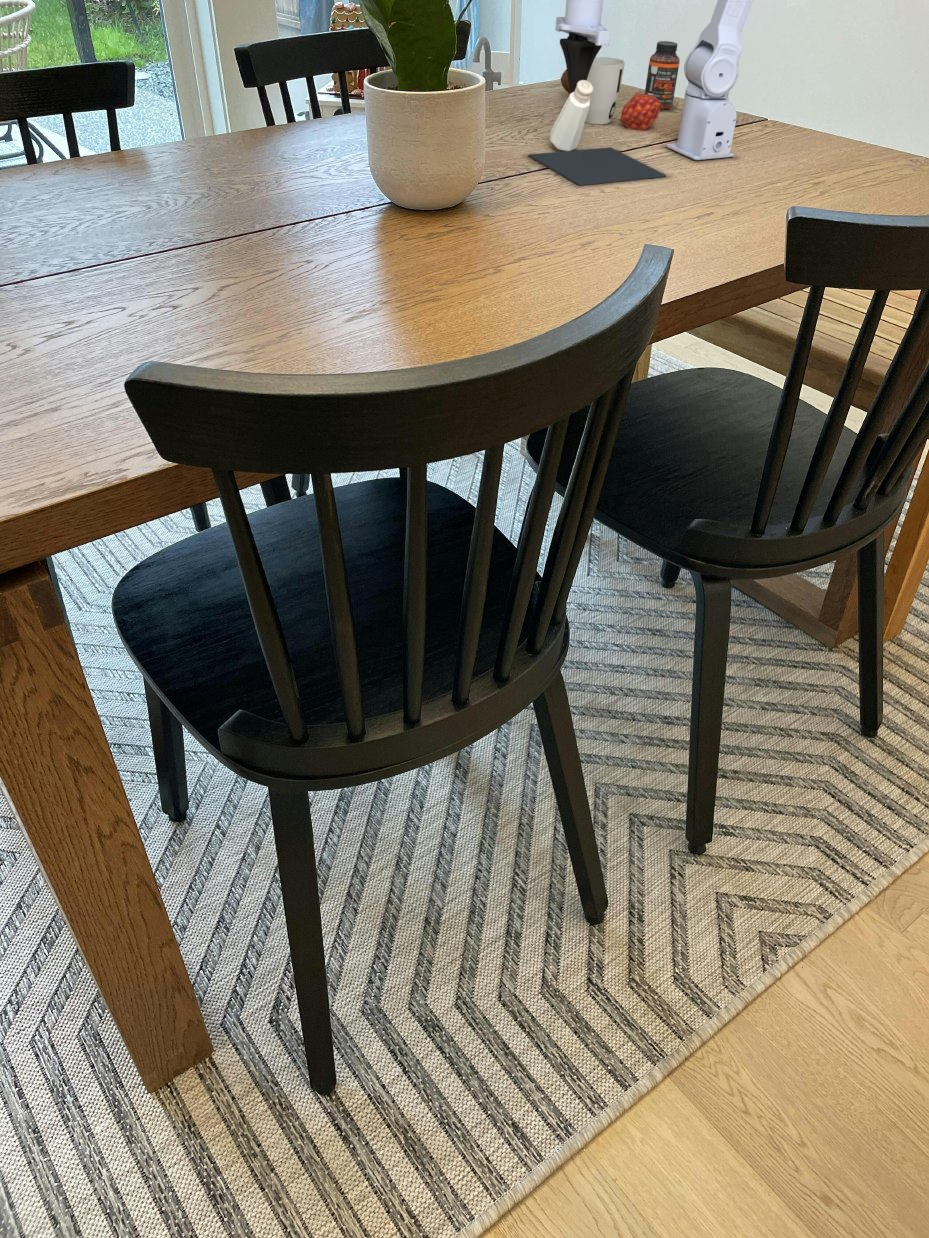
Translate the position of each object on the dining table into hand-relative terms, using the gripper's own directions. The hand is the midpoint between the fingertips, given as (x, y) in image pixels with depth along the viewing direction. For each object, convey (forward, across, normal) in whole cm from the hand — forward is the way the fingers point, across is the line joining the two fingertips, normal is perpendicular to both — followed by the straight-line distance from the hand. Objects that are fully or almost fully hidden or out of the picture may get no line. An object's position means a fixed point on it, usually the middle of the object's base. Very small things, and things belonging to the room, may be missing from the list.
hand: (576, 89), depth 152 cm
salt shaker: (+8, -3, 0) cm, 9 cm away
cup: (+10, -19, +16) cm, 27 cm away
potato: (+10, -38, +24) cm, 46 cm away
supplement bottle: (+10, -26, +34) cm, 44 cm away
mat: (+10, +9, 0) cm, 13 cm away
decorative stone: (+10, -12, +21) cm, 26 cm away
